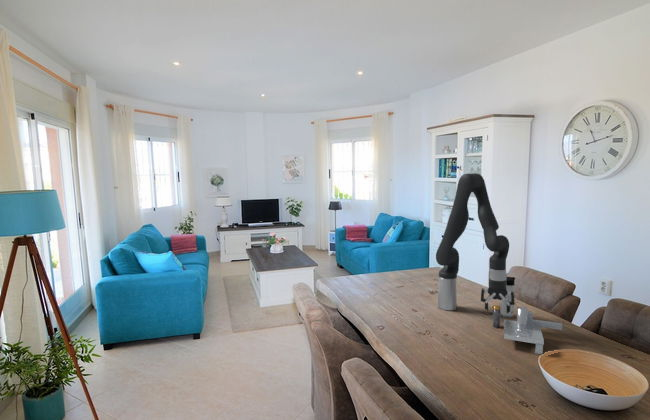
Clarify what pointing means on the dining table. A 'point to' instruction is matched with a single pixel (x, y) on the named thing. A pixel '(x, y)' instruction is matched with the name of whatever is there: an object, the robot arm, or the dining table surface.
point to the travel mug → (509, 287)
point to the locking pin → (496, 316)
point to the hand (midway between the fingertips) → (497, 311)
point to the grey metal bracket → (528, 329)
